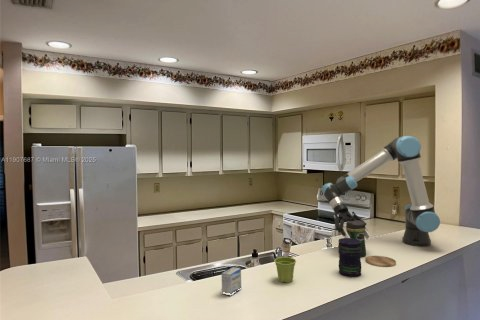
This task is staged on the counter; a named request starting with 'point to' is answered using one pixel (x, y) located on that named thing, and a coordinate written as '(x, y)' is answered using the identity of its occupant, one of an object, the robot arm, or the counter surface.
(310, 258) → the counter surface
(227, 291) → the medicine box
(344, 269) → the storage jar
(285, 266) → the plant pot
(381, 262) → the plate
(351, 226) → the coffee jar
